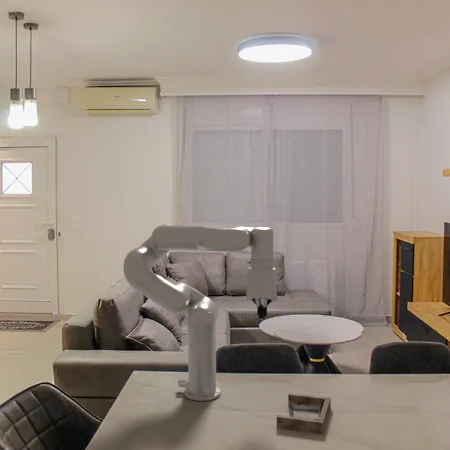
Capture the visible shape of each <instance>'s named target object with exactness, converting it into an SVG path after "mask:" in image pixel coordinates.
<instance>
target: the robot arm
mask: <svg viewBox="0 0 450 450" xmlns="http://www.w3.org/2000/svg"><path fill="white" fill-rule="evenodd" d="M247 248H250V259H249V260H247V261H246V264H247V265H250V267H248V270H247V277H246V285H245V286H246V287H245V288H246V289H245V295H246V300H247V301H251V302H253V303H254V304H255V306H256V307H257V308H256V310H257V312H256V313H257V314H256V315H257V316H258V319H259V320H260V319H262V320H264V319H265V318H266V317H267V316H268V306H269V305H270V304H271V303H275V302H278V301H279V297H278V291H279V288H278V285H279V284H278V277H277V270H276V268H275V267H274V230H273V228H271V227H263V226H262V227H248V226H236V227H233V228H213V227H207V226H203V225H197V224H196V225H194V224H192V225H190V224H188V225H184V224H183V225H179V224H178V225H177V224H176V225H175V224H174V225H173V224H170V223H165V224H162V225H158V226H157V227H155V228H154V229H153V231H152V232H151V235H150V237H148V238H147V239H146V240H145V241H144V242H143V243H142V244H141V245H139V246H138V247H135V248H133V249H132V250H130V251H129V252H128V253H126V256H125V258H124V261H123V275H124V278H125V279H126V281H127V283H128V284H129V286H130V287H132V289H134V290H135V291H137V292H139V294H142V295H143V296H145V297H146V298H147V299H149V300H150V301H151V302H153V303H155V304H156V305H158V306H159V307H161V308H163V309H164V310H165V311H167V312H168V313H169V314H173V315H178V314H182V313H183V314H185V315H187V316H186V329H187V353H188V354H187V355H188V367H187V368H188V371H187V372H188V378H187V379H182V378H179V379H178V380H177V381H178V382H177V383H178V387H179V388H185V389H184V390H183V391H184V393H183V394H184V397H185V398H187V399H189V400H191V401H196V402H206V401H207V402H208V401H212V400H214V399H218V398H219V397H221V394H222V391H221V388H219V386H217V345H216V343H217V339H216V337H217V336H216V321H217V318H218V314H219V312H218V311H219V310H218V309H219V308H218V306H217V304H216V303H215V302H214V300H212V299H211V298H209V297H208V296H206V295H204V294H203V293H202V292H200V291H198V290H197V289H196V288H194V287H192V286H190V285H189V284H187V283H184V282H174V283H172V282H170V281H168V280H167V279H165V278H164V277H162V276H161V275H160V274H157V273H155V272H153V271H152V270H151V268H152V267H154V266H155V265H156V264H157V263H158V262H159V261H160V260H162V258H163V257H164V256H165V255H167V254H168V253H169V252H170V251H199V252H200V251H201V252H207V251H208V252H242V251H245V250H246V249H247ZM262 299H263V301H262ZM262 302H263V303H262Z"/></svg>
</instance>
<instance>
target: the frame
mask: <svg viewBox="0 0 450 450" xmlns="http://www.w3.org/2000/svg"><path fill="white" fill-rule="evenodd" d="M287 397H288V398H287V404H288V406H289V405H290V404H289V402H290V403H293V404H294V403H296V404H298V405H301V404H306V405H312V404H315V405H318V406H319V403H320V410H321V411H320V417H319V416H318V419H319V420H314V418H313V419H311V418H307V417H306V418H305V417H299V416H298V417H297V416H294V417H292V415H282V414H277V416H276V429H278V430H279V429H280V430H286V431H293V432H300V433H307V434H314V435H322V436H323V435H324V432H325V428H326V426H327V422H328V420H329V419H328V418H329V415H330V412H331V409H332V407H331V405H332V404H331V401H332V399H331V397H329V396H320V395H310V394H302V393H293V392H288V395H287Z"/></svg>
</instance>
